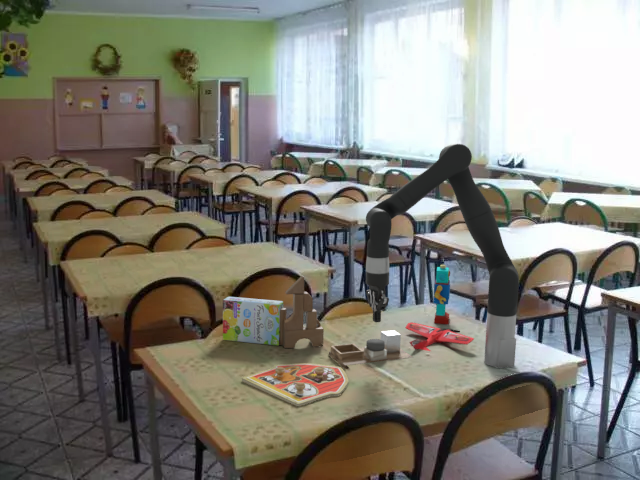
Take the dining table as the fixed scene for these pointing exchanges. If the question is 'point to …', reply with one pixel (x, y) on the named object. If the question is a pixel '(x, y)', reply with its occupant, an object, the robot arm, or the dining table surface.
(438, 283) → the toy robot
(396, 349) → the white block
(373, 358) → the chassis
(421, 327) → the toy airplane
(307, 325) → the wooden toy
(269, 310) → the snack box
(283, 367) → the knob puzzle
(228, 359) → the dining table surface
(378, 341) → the gray push button
